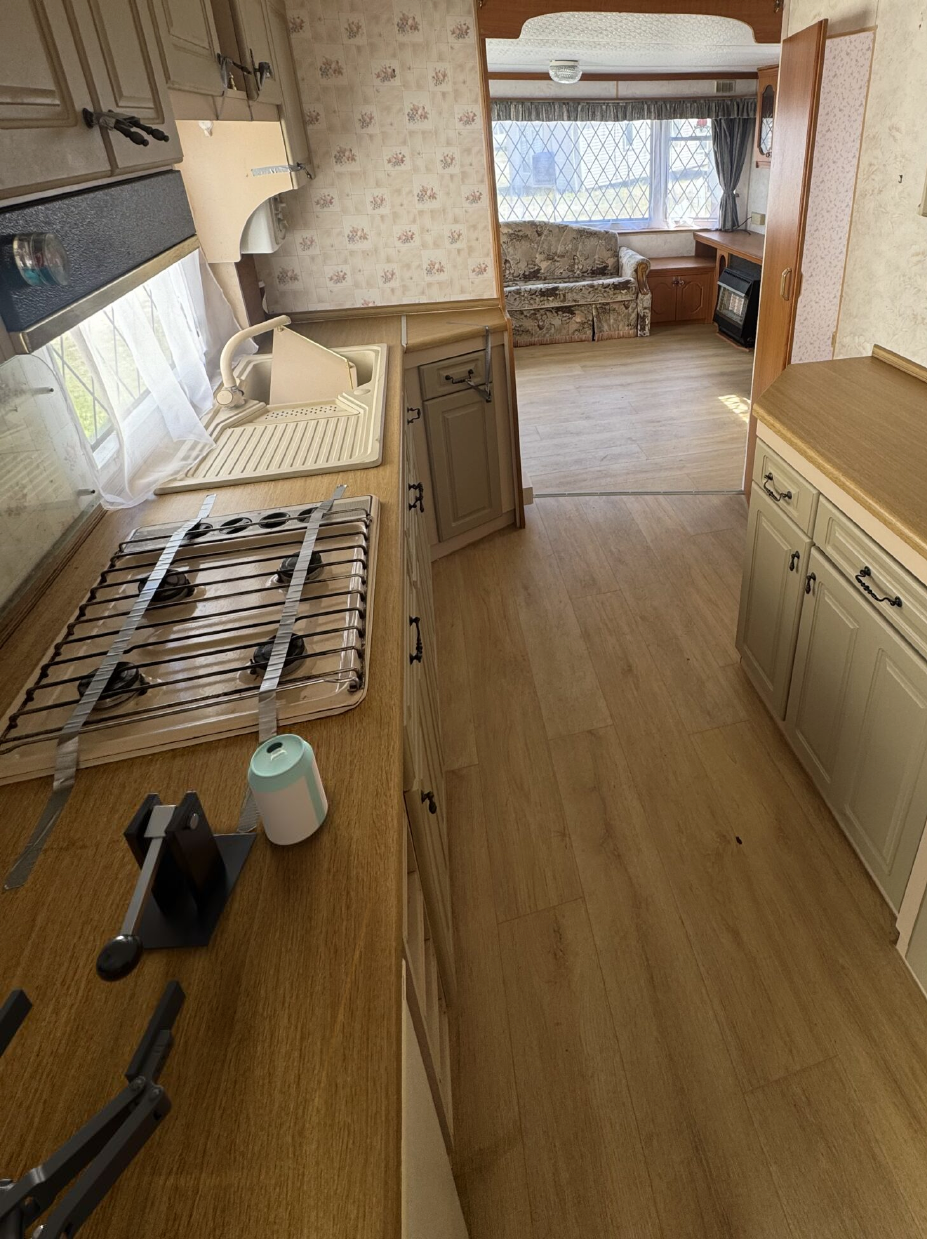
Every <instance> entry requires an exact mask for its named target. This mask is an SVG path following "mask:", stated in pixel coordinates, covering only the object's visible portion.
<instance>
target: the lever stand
mask: <svg viewBox="0 0 927 1239" xmlns="http://www.w3.org/2000/svg"><path fill="white" fill-rule="evenodd" d="M163 804H164V803H162V800H161V797H160V796H159V793H158V792H155V793H147V795H146V797H145V798H144V800H143V801H142V803H141V805H140V806H139V808H138V810H137V811H136V812H135V814H134V816H132V819H131V820H130V822H129V823H128V825H127V826H126V828H125V830H124V831H123V833H122V834H123V837H124V839H125V841H126V843H127V845H128V847H129V849H130V851H131V853H132V856H133V858H134V859H135V861H136V863H137V866H138V868H139V870H140V872H141V871H142V868H143V865H144V862H145V859H146V856H147V853H148V850H149V847H150V845H151V842H152V840H151V839H148V838H145V837H144V835H145V832H146V829H147V826H148V823H149V820H150V818H151V815H152V812H153V809H154V807H155V806H164V805H163ZM177 806H178V808H177V810H176V811H175V813H174V815H173V816H172V818H171V820H170V822H169V823H168V825H167V827H166V828H165V830H164V833H165V835H166V838H167V843H166V846H165V849H164V852H163V855H162V858H161V861H160V864H159V867H158V870H157V873H156V876H155V879H154V882H153V885H152V888H151V891H150V894H149V897H148V900H147V903H146V906H145V909H144V912H143V915H142V918H141V921H140V924H139V927H138V930H137V933H136V935H137V936H138V937H139V938H140V939H141V941H142V943H143V950H159V949H176V948H192V947H194V948H195V947H208V946H209V943H210V942H211V939H212V937H213V934H214V932H215V930H216V928H217V927H218V926H217V925H218V924H219V921H220V919H221V917H222V914H223V913H224V910H225V908H226V905H227V904H228V902H229V899H230V897H231V895H232V893H233V890H234V888H235V885H236V884H237V882H238V879H239V877H240V874H241V872H242V870H243V867H244V865H245V864H246V861H247V859H248V857H249V854H250V852H251V851H252V848H253V845H254V843H255V841H256V839H257V837H258V834H259V833H258V832H249V833H248V832H246V833H228V834H214V833H213V831H212V828H211V826H210V823H209V820H208V818H207V815H206V813H205V811H204V807H203V806H202V803H201V800H200V797H199V795H198V793H197V791H186V792H185V794H184V796H183V798H182V799H181V801H180V803H179V804H178V805H177Z"/></svg>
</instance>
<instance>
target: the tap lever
mask: <svg viewBox="0 0 927 1239" xmlns="http://www.w3.org/2000/svg"><path fill="white" fill-rule="evenodd" d="M178 806H179V805H175V804H173V805H171V804H170V805H163V806H155V807H154V809H153V812H152V815H151V818H150V820H149V823H148V826H147V829H146V832H145V835H144V837H145V838H148V839H151V840H152V842H151V845H150V847H149V850H148V853H147V856H146V859H145V862H144V865H143V868H142V871H141V870H140V874H139V877H138V879H137V882H136V886H135V887H134V891H133V894H132V897H131V900H130V902H129V905H128V909H127V912H126V914H125V916H124V919H123V923H122V925H121V929H120V931H119V935H116V936H115V937H113V938H111V939H110V940H109V941H108V942H107V943H105V945H104V946H103V947H102V949H101V950H100V951H99V953H98V956H97V958H96V962H95V972H96V975H97V977H98V978H99V979H100V980H101V981H102V982H105V983H117V982H119V981H122V980H124V979H125V978H127V977H129V976H130V975H131V974H132V973H133V972H134V971H135V970H136V969H137V967H138V966H139V965H140V962H141V960H142V957H143V954H144V949H143V943H142V941H141V939H140V938H139V937H138V936H137V935H136V933H137V930H138V927H139V924H140V921H141V918H142V915H143V912H144V909H145V906H146V903H147V900H148V897H149V895H150V893H151V888H152V885H153V882H154V879H155V876H156V873H157V870H158V867H159V864H160V861H161V858H162V855H163V852H164V849H165V846H166V843H167V838H166V835H165V833H164V830H165V828H166V827H167V825H168V823H169V822H170V820H171V818H172V816H173V815H174V813H175V811H176V810H177V808H178Z"/></svg>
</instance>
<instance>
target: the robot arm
mask: <svg viewBox="0 0 927 1239" xmlns="http://www.w3.org/2000/svg"><path fill="white" fill-rule="evenodd" d="M186 998H187V995H186V993H185V991H184V988H183V987H182V985H181V983H180V981H179V980H178V979H171V980H170V979H169V981H168V983H167V985H166V987H165V989H164V991H163V992H162V995H161V996H160V999H159V1001H158V1004H157V1006H156V1008H155V1010H154V1012H153V1013H152V1016H151V1018H150V1020H149V1023H148V1024H147V1027H146V1029H145V1031H144V1033H143V1035H142V1036H141V1039H140V1041H139V1044H138V1046H137V1048H136V1050H135V1051H134V1054H133V1056H132V1058H131V1060H130V1062H129V1064H128V1067H127V1069H126V1071H125V1073H124V1078H125V1079H126V1080H127V1082H128V1084H127V1086H125V1087H124V1088H123V1089H122V1090H121V1091H119V1093H118V1094H116V1096H114V1097H113V1098H112V1099H111V1100H110V1101H109V1102H108V1103H107V1104H106V1105H104V1107H102V1108H101V1109H100V1110H99V1111H98V1112H97V1113H96V1114H95V1115H94V1116H93V1117H92V1118H91V1119H89V1121H87V1122H86V1123H85V1124H84V1125H83V1126H82V1127H81V1128H80V1129H79V1130H77V1131H76V1132H75V1133H74V1134H73V1135H72V1136H71V1137H70V1138H69V1139H68V1140H67V1141H66V1142H65V1143H64V1144H62V1145H61V1146H60V1147H59V1148H58V1149H57V1150H56V1151H55V1152H53V1154H52V1155H51V1156H50V1157H49V1158H47V1159H46V1160H45V1161H44V1162H43V1163H42V1164H41V1165H39V1166H38V1167H34V1168H32V1169H30V1170H29V1171H27V1173H25V1174H24V1175H23V1176H22V1177H21V1178H20V1179H19V1180H18V1181H17V1182H15V1181H13V1179H12V1178H6V1179H5V1178H4V1179H0V1239H26V1231H27V1230H28V1229H29V1228H30V1227H31V1226H32V1225H33V1224H34V1223H35V1222H36V1221H37V1220H38V1219H39V1218H40V1217H41V1216H42V1215H43V1214H45V1213H46V1211H47V1210H49V1208H50V1207H51V1206H52V1205H53V1203H55V1200H56V1198H57V1196H58V1194H59V1193H61V1191H62V1190H64V1189H65V1188H66V1187H67V1186H68V1185H69V1184H70V1183H71V1182H72V1181H73V1180H74V1179H75V1178H76V1177H77V1176H78V1175H79V1174H80V1173H81V1172H82V1171H83V1170H84V1169H85V1168H86V1167H87V1166H88V1167H87V1168H86V1169H85V1170H84V1171H83V1172H82V1174H81V1175H80V1176H79V1178H78V1179H77V1180H76V1182H75V1183H73V1185H72V1186H71V1188H70V1189H69V1191H67V1193H66V1194H65V1195H64V1197H63V1198H62V1199H61V1200H60V1201H59V1202H58V1204H57V1205H56V1207H55V1208H54V1210H53V1211H52V1212H51V1214H50V1215H49V1217H48V1218H47V1220H46V1222H45V1223H44V1224H42V1225H39V1226H37V1227H36V1229H35V1230H34V1231H33V1233H32V1237H31V1238H30V1239H75V1237H76V1234H77V1233H78V1232H79V1230H80V1229H81V1228H82V1227H83V1225H84V1224H85V1223H86V1221H87V1220H88V1219H89V1217H90V1216H91V1215H92V1213H93V1212H94V1211H95V1210H96V1208H97V1207H98V1206H99V1204H100V1203H101V1202H102V1201H103V1199H104V1198H105V1197H106V1195H107V1194H108V1193H109V1191H110V1190H111V1189H112V1187H113V1186H114V1185H115V1184H116V1183H117V1181H118V1180H119V1178H121V1176H122V1174H123V1173H124V1172H125V1171H126V1169H127V1168H128V1167H129V1166H130V1164H131V1163H132V1162H133V1160H134V1159H135V1158H136V1156H137V1155H138V1154H139V1152H140V1151H141V1150H142V1149H143V1147H145V1145H146V1144H147V1142H148V1141H149V1140H150V1138H151V1137H152V1136H153V1135H154V1133H155V1132H156V1131H157V1129H158V1128H159V1126H160V1125H161V1124H162V1123H163V1121H164V1120H165V1119H166V1118H167V1116H168V1115H169V1114H170V1112H171V1110H172V1106H173V1105H172V1104H173V1103H172V1101H171V1099H170V1097H169V1096H168V1095H169V1094H167V1092H166V1090H165V1089H164V1087H163V1086H162V1085H158V1083H159V1080H160V1077H161V1076H162V1073H163V1071H164V1069H165V1067H166V1065H167V1063H168V1062H167V1061H168V1059H169V1058H170V1055H171V1053H172V1050H173V1048H174V1045H175V1036H174V1035H173V1033H172V1029H173V1027H174V1025H175V1022H176V1020H177V1018H178V1016H179V1014H180V1011H181V1010H182V1007H183V1005H184V1003H185V1000H186ZM33 1007H34V1004H33V1002H31V1000H30V998H29V997H28V995H27V994H26V992H25V991H24V990H23V989H22V988H14V989H12V990H11V992H10V993H9V995H8V997H7V998H6V999H5V1001H4V1003H3V1004H2V1006H1V1007H0V1059H2V1056H3V1055H4V1053H5V1051H6V1050H7V1049H8V1047H9V1045H10V1044H11V1043H12V1040H13V1039H14V1037H15V1035H16V1034H17V1032H18V1031H19V1030H20V1028H21V1026H22V1024H23V1023H24V1021H25V1019H26V1018H27V1016H28V1015H29V1013H30V1011H31V1010H32V1008H33ZM30 1197H31V1200H30V1201H29V1202H27V1203H26V1200H27V1199H28V1198H30Z"/></svg>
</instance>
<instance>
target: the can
mask: <svg viewBox="0 0 927 1239" xmlns="http://www.w3.org/2000/svg"><path fill="white" fill-rule="evenodd" d="M247 782H248V786H249V788H250V791H251V794H252V797H253V800H254V802H255V805H256V809H257V811H258V814H259V817H260V820H261V823H262V826H263V829H264V832H265V834H266V836H267V838H268V839H269V840H270V841H271V842H272V843H274V844H276V845H280V846H287V845H292V844H297V843H299V842H302V841H304V840H306V839H307V838H308V837H310V836H311V835H312V834H314V832H316V831H317V830H318V829H319V827H321V825H322V824H323V822H324V820H325V818H326V817H327V814H328V809H329V808H328V801H327V797H326V796H327V795H326V794H325V789H324V786H323V782H322V779H321V775H320V772H319V768H318V765H317V760H316V757H315V754H314V750H313V747H312V746H311V745H310V744H309V743H308V742H307V741H305V740H304V739H303V738H302V737H301V736H299V735H296V734H293V733H292V734H291V733H286V734H280V735H277V736H274V737H272V738H270V739H268V740H266V741H265V742H264V743H262V744H261V745H260V746H259V747H258V748H257V749H256V751H255V752H254V754H253V755H252V757H251V759H250V765H249V767H248V771H247Z"/></svg>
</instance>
